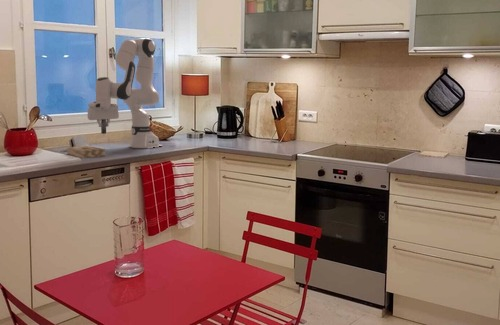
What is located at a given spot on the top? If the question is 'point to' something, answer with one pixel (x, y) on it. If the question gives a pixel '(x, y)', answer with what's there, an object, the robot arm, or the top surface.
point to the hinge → (78, 141)
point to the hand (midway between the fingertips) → (103, 126)
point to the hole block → (86, 151)
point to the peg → (103, 126)
